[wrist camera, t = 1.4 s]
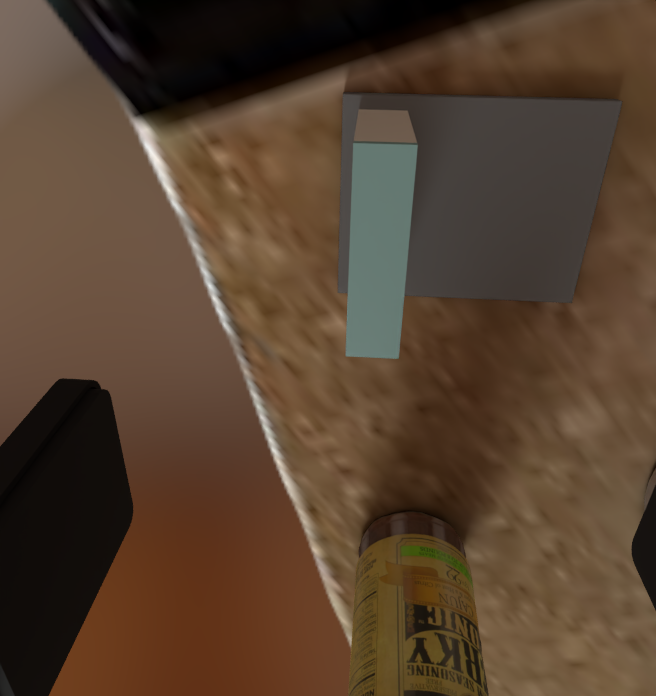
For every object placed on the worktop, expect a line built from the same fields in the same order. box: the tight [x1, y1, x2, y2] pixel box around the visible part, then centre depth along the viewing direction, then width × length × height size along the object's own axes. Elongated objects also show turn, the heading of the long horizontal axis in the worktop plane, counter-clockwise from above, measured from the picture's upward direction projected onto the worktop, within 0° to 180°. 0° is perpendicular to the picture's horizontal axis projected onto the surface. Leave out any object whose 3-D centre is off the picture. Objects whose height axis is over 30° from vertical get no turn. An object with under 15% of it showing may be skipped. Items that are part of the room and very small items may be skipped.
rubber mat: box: [338, 92, 622, 303], centre depth 23 cm, size 8×10×1 cm
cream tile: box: [346, 109, 418, 359], centre depth 21 cm, size 7×2×6 cm, turn 179°
